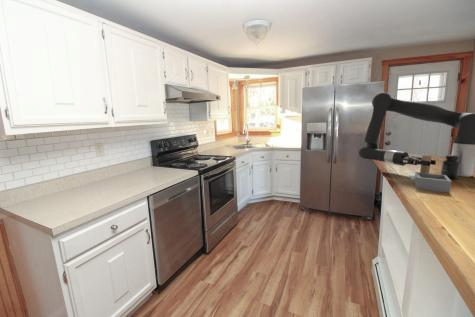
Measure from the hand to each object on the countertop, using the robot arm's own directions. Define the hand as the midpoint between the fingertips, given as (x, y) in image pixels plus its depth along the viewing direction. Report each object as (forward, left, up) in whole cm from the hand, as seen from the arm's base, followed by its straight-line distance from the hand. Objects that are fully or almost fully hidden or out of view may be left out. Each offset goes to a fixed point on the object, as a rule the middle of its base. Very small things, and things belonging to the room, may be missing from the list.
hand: (432, 163), depth 112 cm
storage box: (+9, +11, -9) cm, 17 cm away
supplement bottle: (-15, -5, -10) cm, 19 cm away
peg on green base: (+1, -3, -10) cm, 10 cm away
